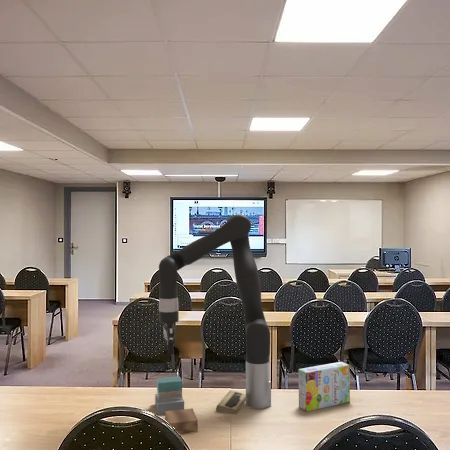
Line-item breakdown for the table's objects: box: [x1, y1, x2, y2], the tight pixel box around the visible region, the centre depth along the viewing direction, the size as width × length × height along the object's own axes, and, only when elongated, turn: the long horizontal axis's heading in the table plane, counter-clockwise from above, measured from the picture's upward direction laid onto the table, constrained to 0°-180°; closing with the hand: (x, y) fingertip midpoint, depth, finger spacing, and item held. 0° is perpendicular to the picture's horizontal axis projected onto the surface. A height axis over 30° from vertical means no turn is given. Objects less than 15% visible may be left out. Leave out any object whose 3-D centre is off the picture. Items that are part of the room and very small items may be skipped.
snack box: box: [298, 361, 351, 412], centre depth 175 cm, size 21×6×15 cm, turn 115°
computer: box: [215, 389, 246, 415], centre depth 175 cm, size 16×8×3 cm, turn 162°
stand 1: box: [154, 393, 185, 416], centre depth 172 cm, size 10×10×4 cm
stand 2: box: [164, 408, 199, 435], centre depth 156 cm, size 10×10×4 cm
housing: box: [156, 375, 183, 402], centre depth 172 cm, size 9×6×7 cm, turn 104°
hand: (169, 351), depth 172 cm, fingers open, 8 cm apart
